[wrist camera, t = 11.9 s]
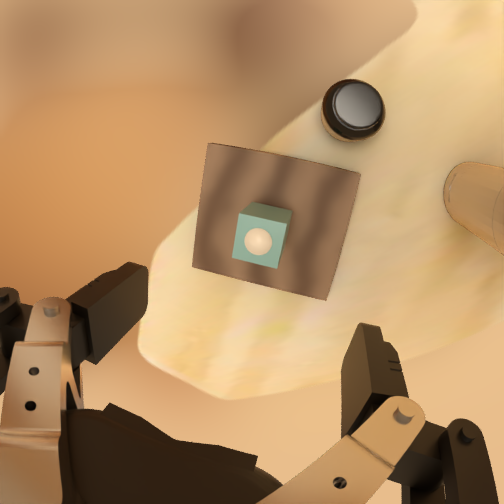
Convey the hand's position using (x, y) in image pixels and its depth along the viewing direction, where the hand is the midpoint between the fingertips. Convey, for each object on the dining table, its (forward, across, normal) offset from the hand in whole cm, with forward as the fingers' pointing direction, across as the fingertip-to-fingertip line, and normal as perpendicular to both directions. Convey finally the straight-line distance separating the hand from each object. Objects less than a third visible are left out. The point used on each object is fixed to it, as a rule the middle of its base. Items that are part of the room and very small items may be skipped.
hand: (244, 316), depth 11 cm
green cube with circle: (+29, +3, +5) cm, 30 cm away
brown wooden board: (+32, +3, +5) cm, 33 cm away
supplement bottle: (+32, -4, -11) cm, 34 cm away
